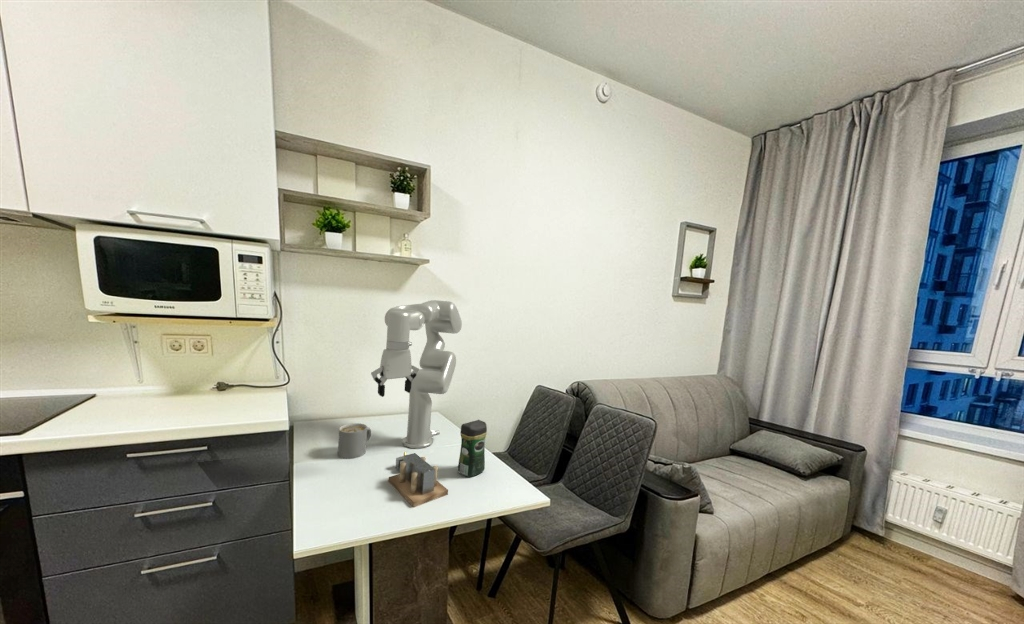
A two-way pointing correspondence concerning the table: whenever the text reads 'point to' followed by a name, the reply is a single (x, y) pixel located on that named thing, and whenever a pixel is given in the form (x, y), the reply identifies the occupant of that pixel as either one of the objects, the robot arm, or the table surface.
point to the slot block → (399, 461)
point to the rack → (415, 487)
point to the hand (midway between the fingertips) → (394, 393)
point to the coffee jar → (472, 448)
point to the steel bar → (420, 473)
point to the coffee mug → (353, 440)
